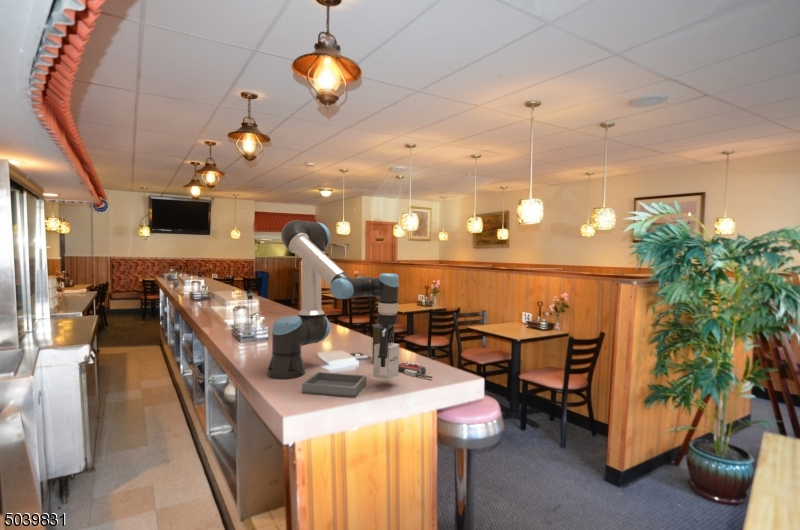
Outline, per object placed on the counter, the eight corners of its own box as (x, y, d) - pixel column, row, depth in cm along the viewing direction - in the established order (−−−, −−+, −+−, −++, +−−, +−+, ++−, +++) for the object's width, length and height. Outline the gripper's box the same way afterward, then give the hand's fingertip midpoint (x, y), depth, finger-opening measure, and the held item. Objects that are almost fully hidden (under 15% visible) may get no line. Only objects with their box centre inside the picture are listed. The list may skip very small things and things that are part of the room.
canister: (393, 359, 198) (394, 318, 197) (394, 365, 188) (395, 322, 187) (371, 359, 198) (372, 318, 197) (370, 365, 187) (371, 321, 187)
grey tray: (302, 393, 148) (302, 383, 148) (317, 380, 163) (317, 371, 163) (355, 397, 145) (355, 388, 145) (366, 384, 159) (366, 375, 159)
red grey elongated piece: (390, 372, 177) (431, 381, 166) (391, 362, 177) (431, 371, 166) (402, 368, 184) (441, 376, 173) (402, 358, 184) (441, 366, 173)
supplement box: (388, 380, 154) (389, 347, 153) (372, 376, 157) (373, 344, 157) (398, 375, 160) (399, 343, 159) (383, 372, 164) (384, 341, 163)
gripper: (391, 318, 146) (389, 380, 147) (402, 310, 168) (400, 364, 168) (371, 317, 148) (369, 378, 149) (384, 309, 169) (382, 362, 170)
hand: (385, 371), depth 159 cm, fingers closed on supplement box, 9 cm apart
